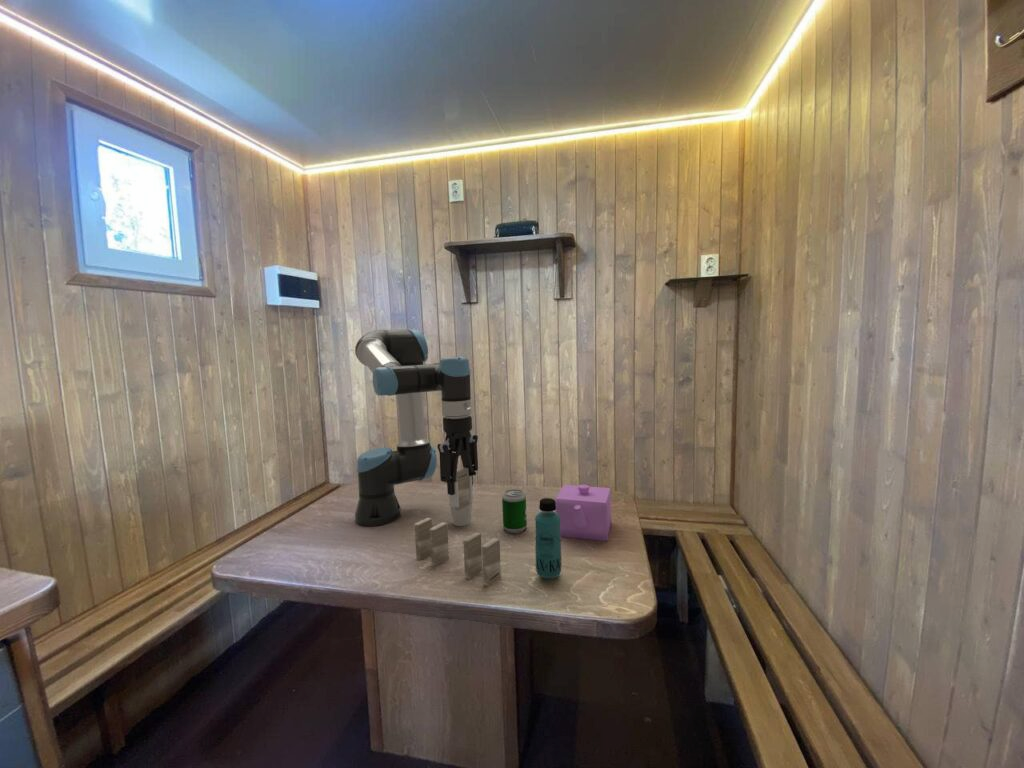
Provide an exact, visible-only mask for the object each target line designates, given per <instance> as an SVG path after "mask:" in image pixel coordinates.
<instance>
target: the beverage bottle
mask: <svg viewBox="0 0 1024 768" xmlns="http://www.w3.org/2000/svg"><path fill="white" fill-rule="evenodd" d="M538 508H539V510H540V512H539V513H538V514H536V516H535V517H534V520H535V571H536V573H537V575H539V577H541V578H545V579H553V578H556V577H559V575H560V574H561V573H562V562H563V561H562V560H563V559H562V555H563V554H562V543H561V542H562V540H561V539H562V538H561V537H562V536H560V516H559V515H558V514H557V513H556V502H555V499H553V498H547V497H545V498H541V499H540V500H539V506H538Z"/></svg>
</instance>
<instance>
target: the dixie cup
mask: <svg viewBox="0 0 1024 768" xmlns="http://www.w3.org/2000/svg"><path fill="white" fill-rule="evenodd" d="M447 496H448V498H449V494H448V493H447ZM472 508H473V499H472V500H470V504H469V505H468V506H466V507H464V508H462V509H460V510H454V509H453V506H450V513H451V517H452V521H453V523H452V524H453V525H454V526H457V527H464V526H468V525H469V524H471V522H472V520H471V519H472V511H473V509H472Z"/></svg>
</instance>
